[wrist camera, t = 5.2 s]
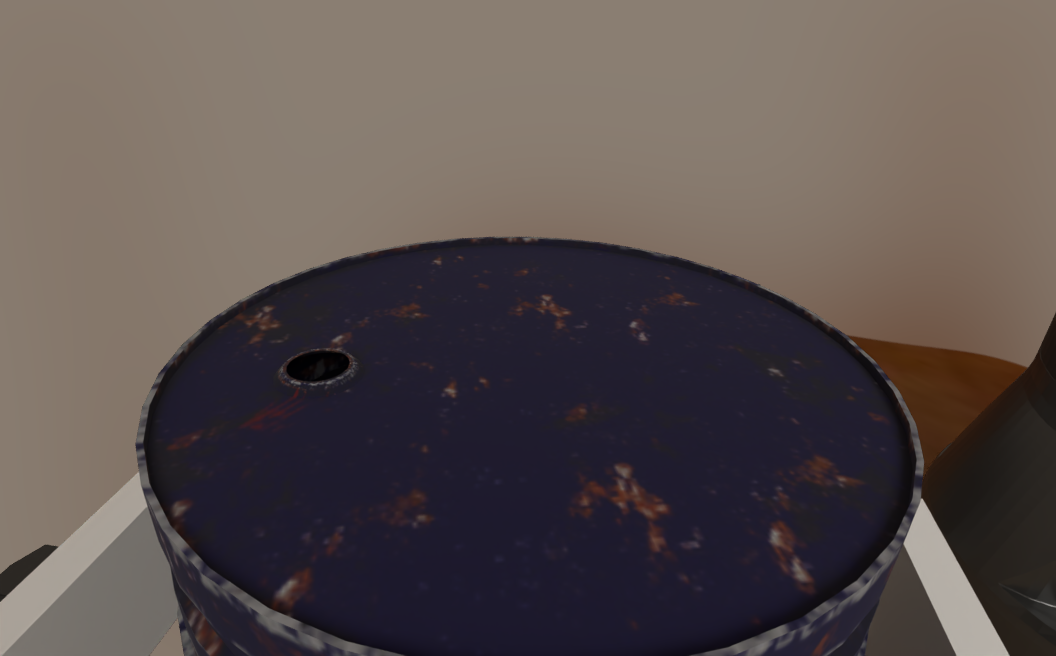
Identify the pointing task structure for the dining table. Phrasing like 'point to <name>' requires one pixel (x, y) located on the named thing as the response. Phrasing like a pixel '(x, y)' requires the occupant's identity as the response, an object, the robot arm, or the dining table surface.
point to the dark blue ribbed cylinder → (525, 462)
